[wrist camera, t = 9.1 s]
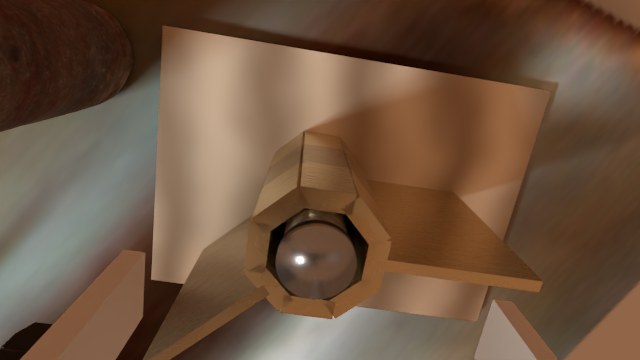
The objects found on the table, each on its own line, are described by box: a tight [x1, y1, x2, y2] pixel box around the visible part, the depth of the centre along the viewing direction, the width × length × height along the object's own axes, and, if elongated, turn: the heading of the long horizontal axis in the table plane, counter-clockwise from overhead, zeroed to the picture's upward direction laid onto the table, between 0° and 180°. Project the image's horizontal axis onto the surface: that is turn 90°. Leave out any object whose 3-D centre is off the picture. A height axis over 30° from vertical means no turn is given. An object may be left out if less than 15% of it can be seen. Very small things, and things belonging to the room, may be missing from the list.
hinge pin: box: [276, 208, 357, 300], centre depth 25 cm, size 4×4×14 cm
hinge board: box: [151, 25, 551, 322], centre depth 33 cm, size 28×20×1 cm
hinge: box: [143, 131, 543, 360], centre depth 26 cm, size 19×11×13 cm, turn 81°
